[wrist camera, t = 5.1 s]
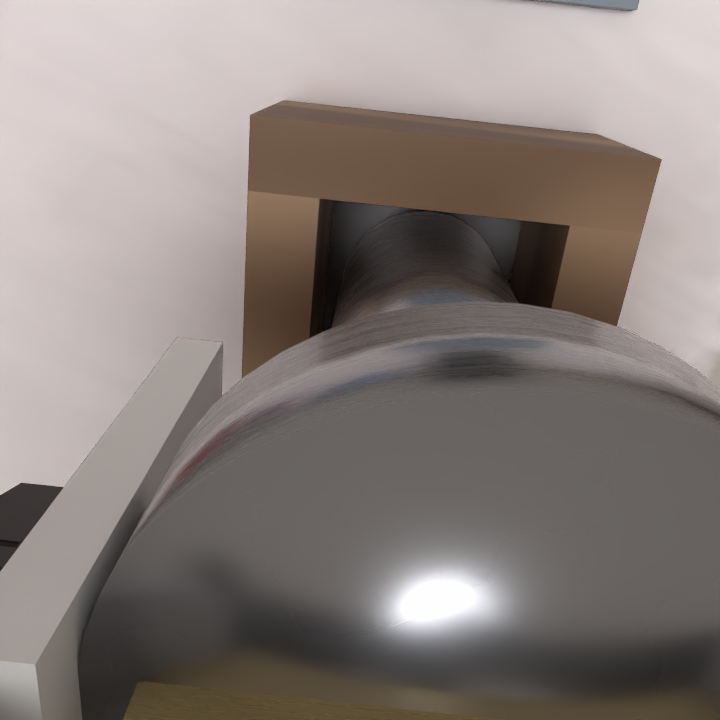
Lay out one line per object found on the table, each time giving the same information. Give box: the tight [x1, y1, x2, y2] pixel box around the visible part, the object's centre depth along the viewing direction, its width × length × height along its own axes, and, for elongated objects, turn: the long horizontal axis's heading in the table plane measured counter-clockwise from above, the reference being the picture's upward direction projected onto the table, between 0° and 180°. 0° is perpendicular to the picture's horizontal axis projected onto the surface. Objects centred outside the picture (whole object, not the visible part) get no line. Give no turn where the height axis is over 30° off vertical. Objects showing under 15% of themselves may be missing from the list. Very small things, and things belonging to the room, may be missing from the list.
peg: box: [77, 211, 720, 720], centre depth 13 cm, size 8×8×15 cm
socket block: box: [242, 101, 662, 379], centre depth 19 cm, size 9×9×5 cm
